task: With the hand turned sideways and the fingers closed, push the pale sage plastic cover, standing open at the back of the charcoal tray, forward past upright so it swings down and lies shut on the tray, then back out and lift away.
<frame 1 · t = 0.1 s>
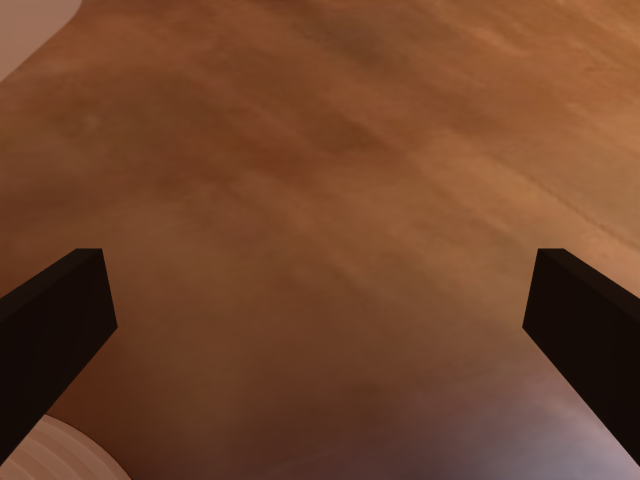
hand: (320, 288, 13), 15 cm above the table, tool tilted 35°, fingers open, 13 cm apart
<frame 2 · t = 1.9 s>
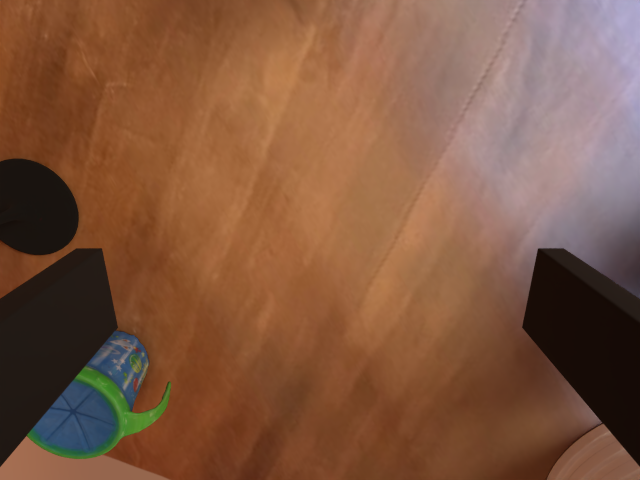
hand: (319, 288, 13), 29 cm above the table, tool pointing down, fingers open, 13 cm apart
snack cup: (121, 353, 49), on the table
wine glass: (31, 207, 43), on the table
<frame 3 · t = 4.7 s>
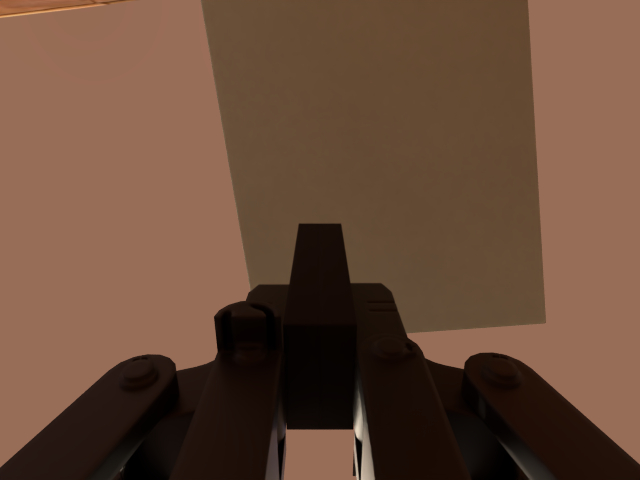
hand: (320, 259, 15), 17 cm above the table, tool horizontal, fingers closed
cover: (374, 162, 19), point 15 cm above the table, hinge at 100.0°
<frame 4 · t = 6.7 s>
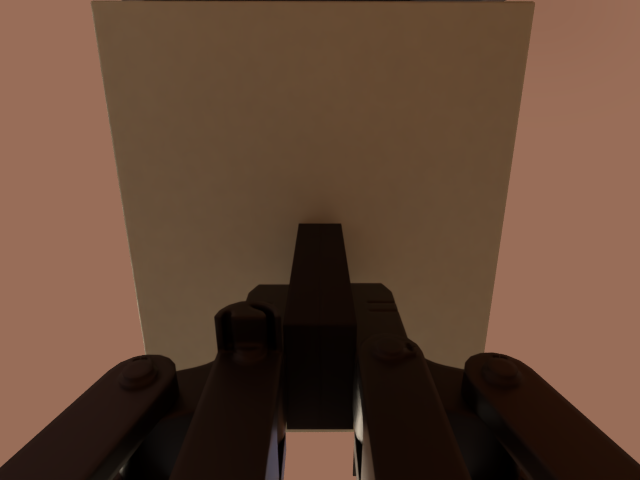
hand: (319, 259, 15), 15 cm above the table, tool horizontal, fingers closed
cover: (314, 250, 15), point 15 cm above the table, hinge at 92.1°, touching gripper
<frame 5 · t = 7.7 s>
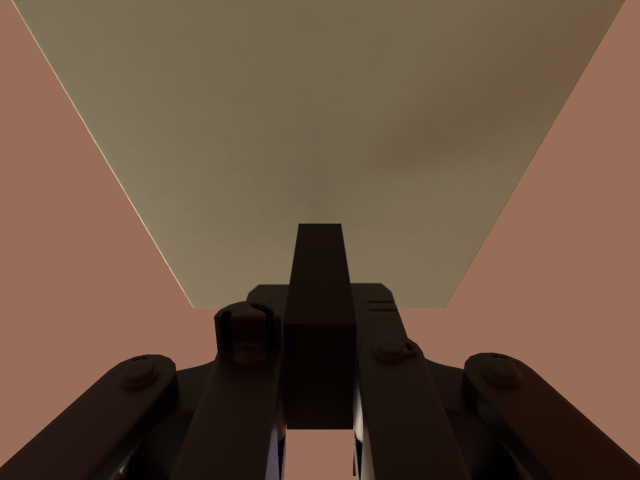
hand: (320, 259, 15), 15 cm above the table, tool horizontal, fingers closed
cover: (318, 207, 15), point 13 cm above the table, hinge at 55.1°
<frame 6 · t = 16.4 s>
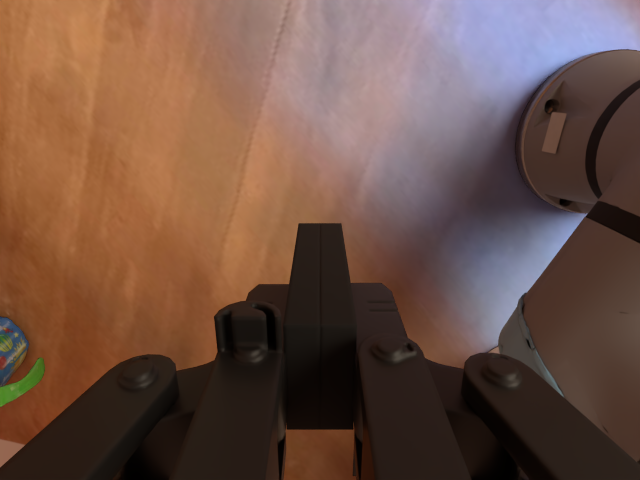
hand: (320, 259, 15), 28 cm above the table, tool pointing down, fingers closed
snack cup: (0, 337, 49), on the table
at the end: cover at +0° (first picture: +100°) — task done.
